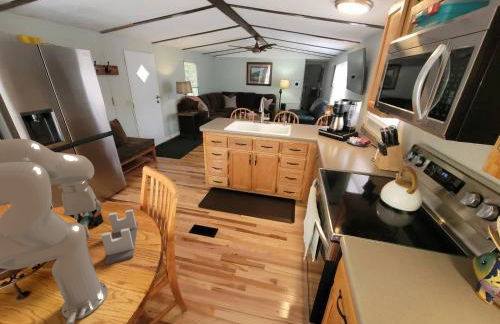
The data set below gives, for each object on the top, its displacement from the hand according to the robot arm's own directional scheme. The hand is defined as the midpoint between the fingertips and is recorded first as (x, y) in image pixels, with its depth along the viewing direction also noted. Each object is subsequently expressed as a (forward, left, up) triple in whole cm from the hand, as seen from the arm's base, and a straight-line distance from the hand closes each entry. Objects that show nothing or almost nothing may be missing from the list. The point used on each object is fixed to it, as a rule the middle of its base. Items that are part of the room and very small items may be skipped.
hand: (87, 223), depth 88 cm
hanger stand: (0, -11, -14) cm, 18 cm away
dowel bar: (0, 0, -1) cm, 1 cm away
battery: (+21, +5, -14) cm, 26 cm away
